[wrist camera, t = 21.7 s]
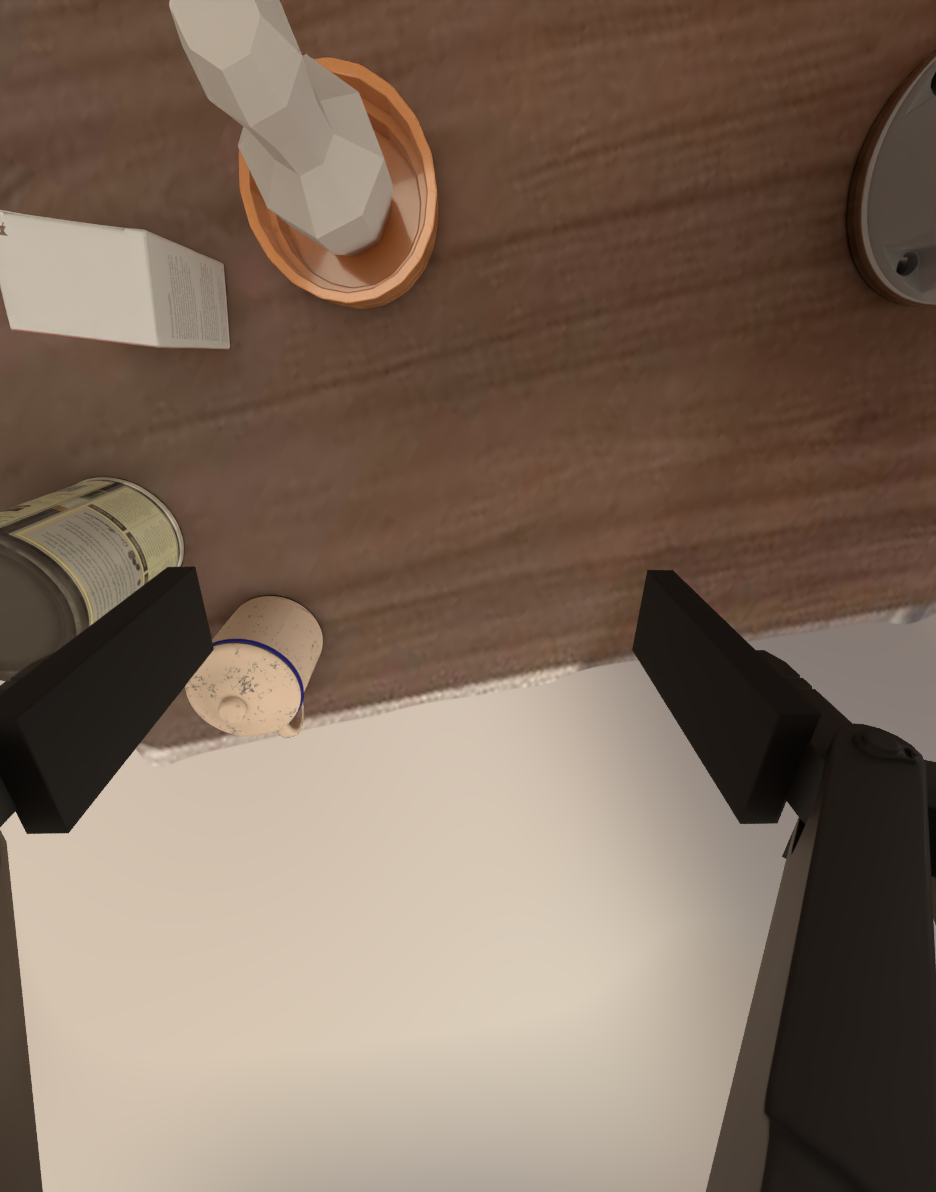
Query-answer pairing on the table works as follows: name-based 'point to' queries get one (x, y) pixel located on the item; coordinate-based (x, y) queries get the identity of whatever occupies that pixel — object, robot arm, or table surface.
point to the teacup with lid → (258, 669)
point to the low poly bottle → (290, 122)
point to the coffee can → (76, 562)
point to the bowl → (408, 227)
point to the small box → (109, 285)
